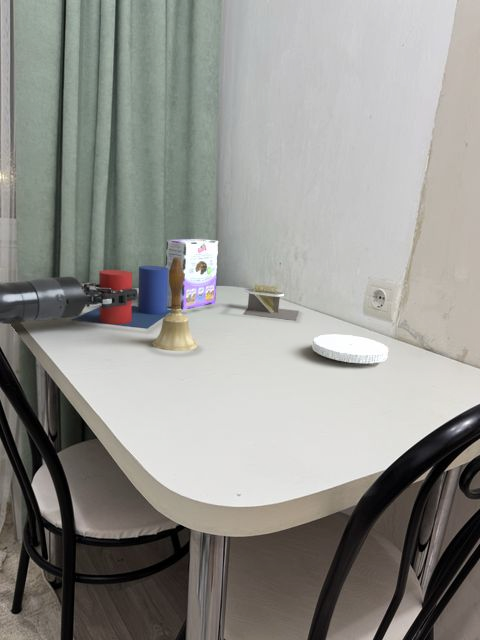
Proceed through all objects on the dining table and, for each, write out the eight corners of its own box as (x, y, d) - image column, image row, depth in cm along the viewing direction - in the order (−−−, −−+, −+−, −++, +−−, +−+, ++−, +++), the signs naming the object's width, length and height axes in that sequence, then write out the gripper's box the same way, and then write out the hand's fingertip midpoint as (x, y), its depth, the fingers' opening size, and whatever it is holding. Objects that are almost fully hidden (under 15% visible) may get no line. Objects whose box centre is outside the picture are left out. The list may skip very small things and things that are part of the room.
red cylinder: (94, 322, 102) (93, 272, 99) (106, 315, 108) (106, 269, 106) (124, 325, 102) (125, 276, 99) (135, 318, 108) (136, 272, 105)
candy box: (197, 300, 134) (201, 238, 130) (215, 304, 132) (219, 240, 127) (163, 307, 123) (165, 238, 118) (182, 311, 120) (185, 241, 116)
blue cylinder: (134, 312, 113) (134, 267, 111) (143, 307, 119) (144, 264, 117) (161, 315, 113) (163, 270, 110) (169, 310, 119) (171, 267, 116)
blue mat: (70, 321, 102) (70, 319, 102) (108, 304, 121) (108, 303, 120) (147, 330, 101) (147, 328, 101) (173, 311, 119) (173, 310, 119)
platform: (295, 320, 122) (298, 293, 120) (223, 311, 124) (224, 285, 122) (299, 310, 134) (301, 286, 132) (232, 303, 135) (234, 278, 134)
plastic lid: (297, 354, 94) (298, 341, 93) (334, 342, 105) (336, 330, 104) (365, 374, 86) (367, 360, 86) (398, 359, 97) (400, 346, 96)
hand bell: (158, 354, 87) (161, 260, 83) (146, 340, 94) (149, 254, 90) (204, 351, 91) (209, 262, 86) (189, 339, 98) (193, 256, 93)
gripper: (30, 311, 97) (103, 302, 110) (75, 326, 89) (148, 315, 102) (28, 272, 95) (103, 267, 108) (74, 284, 87) (149, 278, 100)
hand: (124, 291), depth 105 cm, fingers closed on red cylinder, 6 cm apart
